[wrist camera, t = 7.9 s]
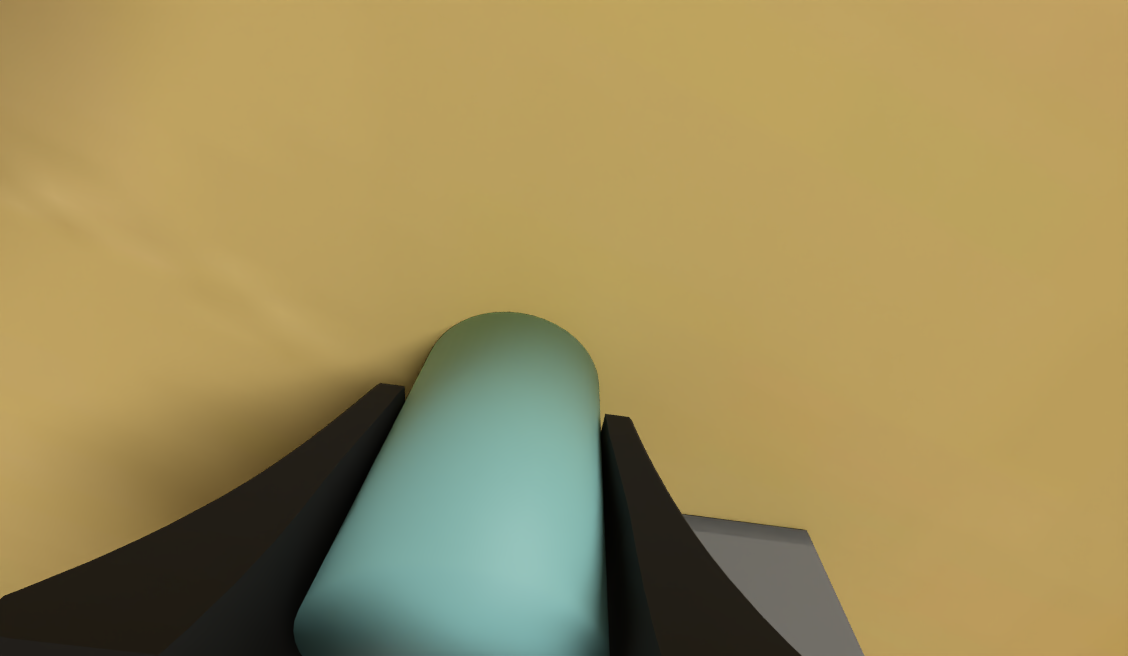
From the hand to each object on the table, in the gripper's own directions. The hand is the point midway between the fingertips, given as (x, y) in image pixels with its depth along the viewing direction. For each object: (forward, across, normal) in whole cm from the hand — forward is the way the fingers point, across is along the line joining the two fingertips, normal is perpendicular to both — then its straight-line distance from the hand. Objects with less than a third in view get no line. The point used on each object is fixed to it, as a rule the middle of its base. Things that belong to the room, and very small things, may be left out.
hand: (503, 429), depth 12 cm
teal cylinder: (+2, 0, 0) cm, 2 cm away
